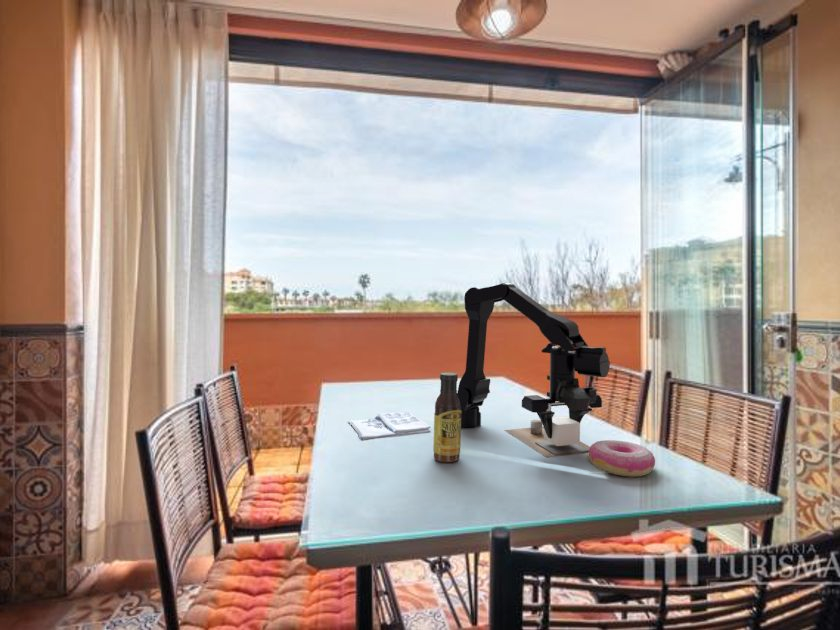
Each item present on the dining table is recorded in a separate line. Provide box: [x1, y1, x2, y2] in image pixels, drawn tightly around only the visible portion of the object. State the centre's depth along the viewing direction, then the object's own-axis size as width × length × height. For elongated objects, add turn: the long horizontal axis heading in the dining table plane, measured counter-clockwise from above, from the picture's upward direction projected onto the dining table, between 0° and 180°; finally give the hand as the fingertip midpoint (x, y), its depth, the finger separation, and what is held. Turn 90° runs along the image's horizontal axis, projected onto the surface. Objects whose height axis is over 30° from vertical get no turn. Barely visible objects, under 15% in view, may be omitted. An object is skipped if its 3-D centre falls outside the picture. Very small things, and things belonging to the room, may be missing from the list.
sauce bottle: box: [433, 372, 462, 463], centre depth 110 cm, size 7×6×20 cm
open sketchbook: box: [347, 411, 431, 440], centre depth 137 cm, size 19×20×2 cm
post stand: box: [503, 419, 591, 458], centre depth 121 cm, size 14×22×4 cm, turn 16°
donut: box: [588, 439, 656, 478], centre depth 104 cm, size 14×13×5 cm
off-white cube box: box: [544, 416, 581, 446], centre depth 115 cm, size 6×6×5 cm
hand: (561, 436), depth 115 cm, fingers closed on off-white cube box, 6 cm apart
